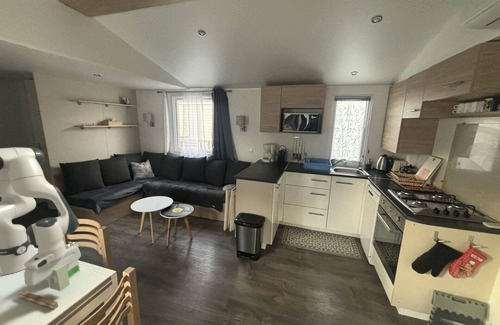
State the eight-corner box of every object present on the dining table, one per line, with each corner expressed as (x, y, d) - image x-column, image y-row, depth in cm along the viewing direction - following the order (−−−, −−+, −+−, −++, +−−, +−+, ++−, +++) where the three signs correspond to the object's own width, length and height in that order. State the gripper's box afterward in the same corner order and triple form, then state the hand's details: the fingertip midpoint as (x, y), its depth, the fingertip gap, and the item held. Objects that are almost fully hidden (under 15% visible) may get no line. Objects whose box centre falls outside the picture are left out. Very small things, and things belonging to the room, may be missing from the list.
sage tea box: (49, 288, 95) (45, 267, 93) (59, 281, 99) (55, 261, 97) (60, 291, 93) (56, 270, 91) (69, 284, 97) (66, 264, 95)
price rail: (19, 298, 94) (18, 293, 93) (24, 295, 96) (23, 290, 95) (53, 310, 88) (52, 305, 88) (58, 306, 90) (57, 302, 90)
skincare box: (64, 281, 104) (59, 254, 101) (54, 279, 105) (49, 252, 102) (81, 270, 112) (76, 245, 109) (71, 268, 113) (67, 243, 110)
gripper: (72, 239, 103) (76, 263, 106) (18, 266, 84) (25, 294, 87) (81, 241, 102) (85, 265, 104) (29, 269, 82) (35, 297, 85)
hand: (58, 278), depth 95 cm, fingers closed on sage tea box, 4 cm apart
